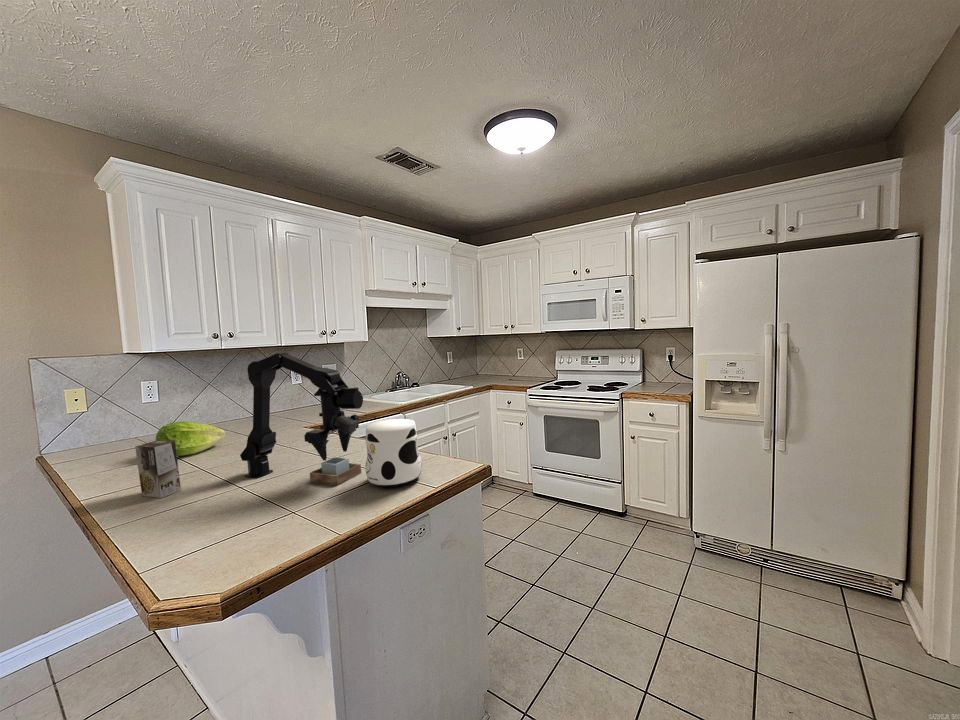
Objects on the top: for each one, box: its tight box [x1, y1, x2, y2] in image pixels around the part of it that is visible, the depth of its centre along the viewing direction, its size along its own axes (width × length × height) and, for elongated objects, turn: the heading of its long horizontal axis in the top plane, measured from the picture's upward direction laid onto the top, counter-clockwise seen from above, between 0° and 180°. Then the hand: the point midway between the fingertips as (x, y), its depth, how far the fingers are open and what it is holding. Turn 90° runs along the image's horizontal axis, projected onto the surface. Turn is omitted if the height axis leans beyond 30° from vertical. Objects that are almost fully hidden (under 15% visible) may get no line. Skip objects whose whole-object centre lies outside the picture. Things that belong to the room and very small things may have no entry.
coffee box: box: [134, 440, 182, 499], centre depth 125 cm, size 9×6×16 cm
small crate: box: [320, 457, 350, 475], centre depth 131 cm, size 6×6×5 cm
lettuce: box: [155, 421, 226, 458], centre depth 171 cm, size 17×24×14 cm
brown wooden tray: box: [309, 462, 362, 487], centre depth 131 cm, size 11×11×3 cm
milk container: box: [364, 418, 423, 488], centre depth 125 cm, size 17×17×18 cm
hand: (335, 455), depth 131 cm, fingers open, 9 cm apart
